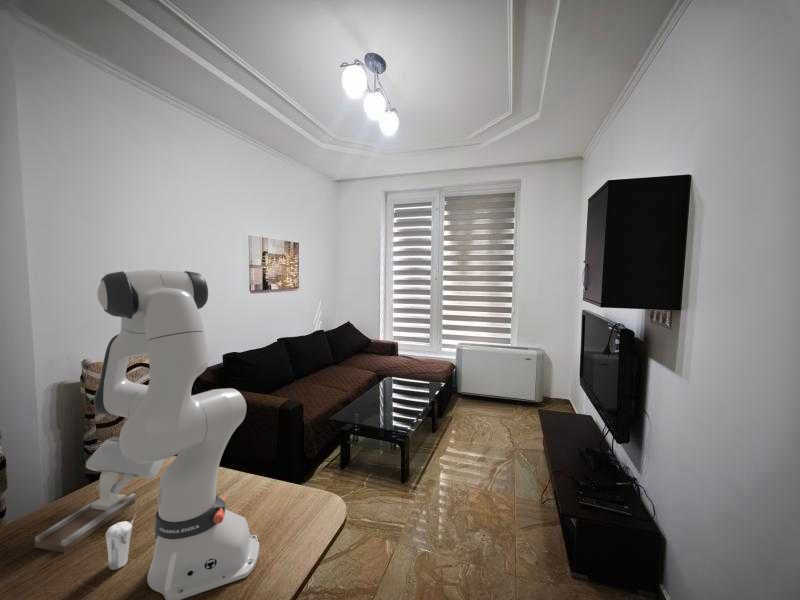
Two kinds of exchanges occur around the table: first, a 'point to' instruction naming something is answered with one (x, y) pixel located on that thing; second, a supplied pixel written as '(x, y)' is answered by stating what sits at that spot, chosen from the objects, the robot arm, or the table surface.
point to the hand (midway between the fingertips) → (106, 491)
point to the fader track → (79, 526)
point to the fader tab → (107, 492)
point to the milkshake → (118, 544)
